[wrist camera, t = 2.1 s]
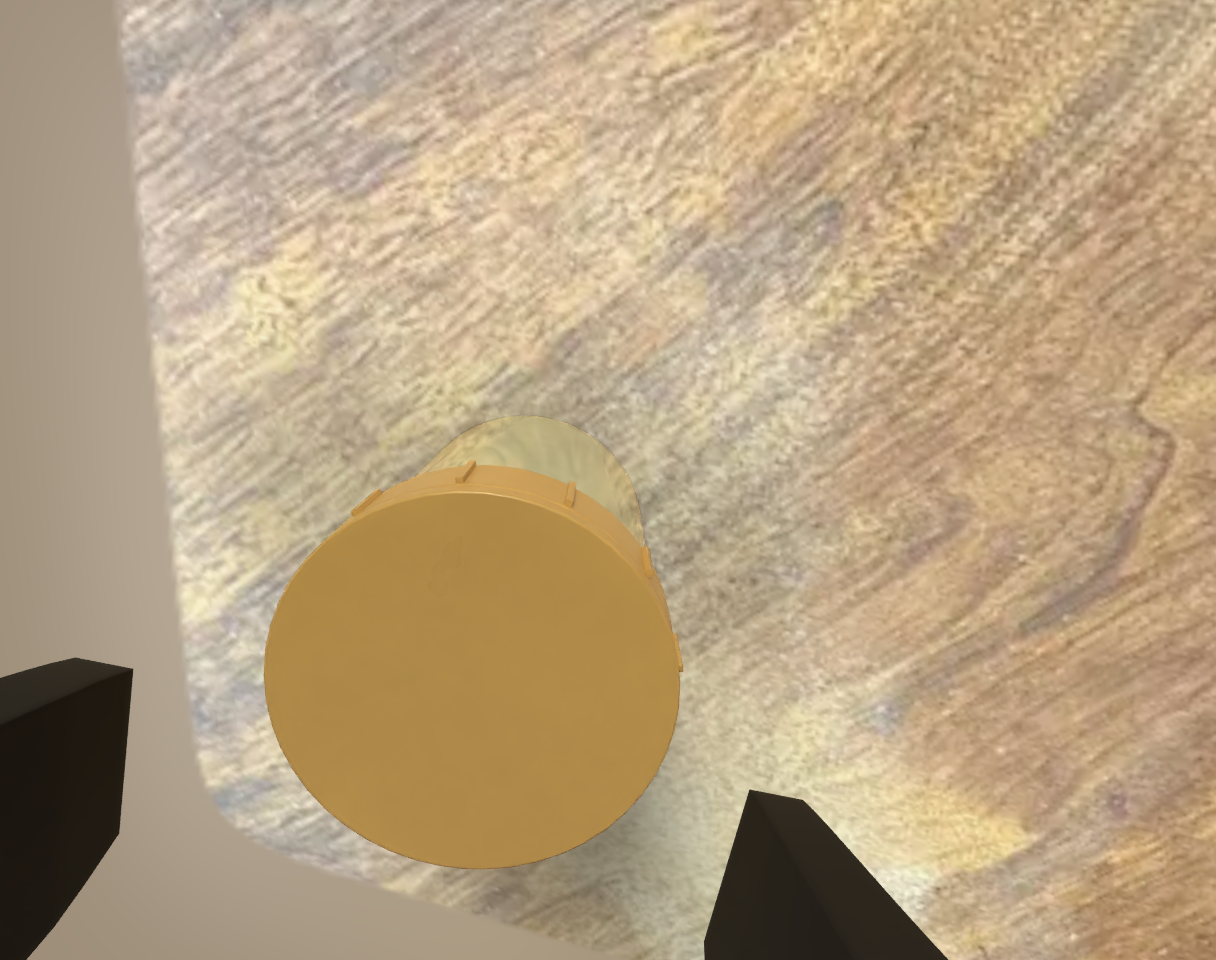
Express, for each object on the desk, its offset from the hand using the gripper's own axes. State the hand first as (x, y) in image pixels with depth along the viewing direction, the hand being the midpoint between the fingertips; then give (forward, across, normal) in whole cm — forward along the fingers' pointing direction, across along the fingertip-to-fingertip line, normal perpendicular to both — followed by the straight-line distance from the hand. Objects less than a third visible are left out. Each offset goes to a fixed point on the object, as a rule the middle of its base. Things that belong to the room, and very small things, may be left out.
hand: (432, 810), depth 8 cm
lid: (+3, 0, 0) cm, 3 cm away
